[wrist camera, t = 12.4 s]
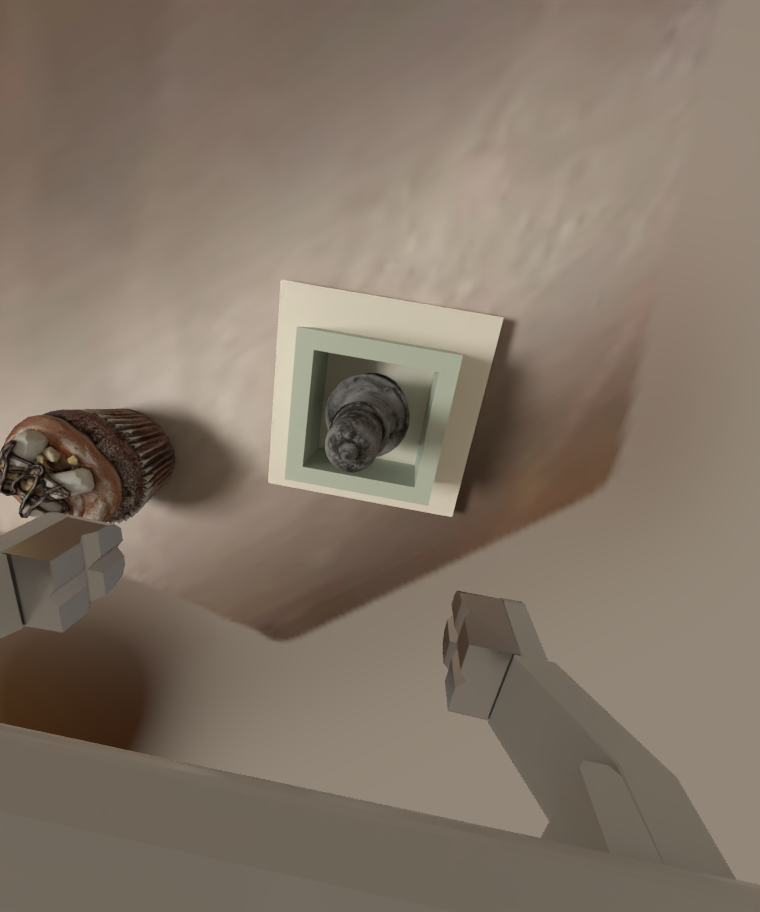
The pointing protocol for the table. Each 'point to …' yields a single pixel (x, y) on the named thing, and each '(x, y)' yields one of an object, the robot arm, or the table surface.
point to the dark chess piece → (364, 420)
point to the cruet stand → (396, 356)
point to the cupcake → (85, 463)
